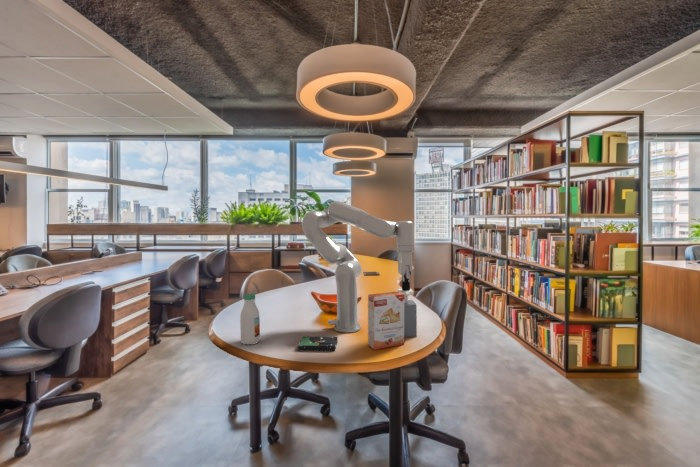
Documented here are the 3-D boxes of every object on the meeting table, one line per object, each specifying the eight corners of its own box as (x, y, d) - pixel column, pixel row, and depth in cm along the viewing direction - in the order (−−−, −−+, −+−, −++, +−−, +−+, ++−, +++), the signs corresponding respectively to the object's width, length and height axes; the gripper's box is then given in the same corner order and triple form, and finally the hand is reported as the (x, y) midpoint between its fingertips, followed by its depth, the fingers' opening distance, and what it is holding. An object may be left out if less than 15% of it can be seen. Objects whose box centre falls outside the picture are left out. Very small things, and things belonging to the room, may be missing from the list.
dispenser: (398, 336, 136) (398, 304, 136) (395, 330, 144) (395, 300, 144) (416, 336, 136) (416, 304, 136) (412, 330, 144) (412, 300, 144)
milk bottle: (249, 346, 127) (248, 297, 127) (236, 343, 131) (235, 295, 131) (263, 340, 134) (262, 293, 133) (251, 337, 138) (250, 292, 137)
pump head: (401, 322, 134) (401, 293, 134) (397, 316, 143) (397, 288, 143) (415, 322, 134) (415, 293, 134) (410, 315, 143) (410, 288, 143)
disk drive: (337, 343, 132) (302, 342, 133) (337, 336, 132) (302, 335, 132) (335, 353, 121) (297, 352, 122) (335, 345, 121) (297, 345, 122)
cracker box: (374, 350, 122) (374, 297, 121) (367, 345, 127) (367, 294, 127) (405, 344, 127) (404, 293, 127) (397, 339, 133) (396, 290, 132)
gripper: (394, 247, 147) (394, 287, 147) (399, 250, 132) (400, 294, 132) (410, 247, 147) (410, 286, 147) (417, 250, 132) (418, 293, 132)
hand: (405, 290), depth 140 cm, fingers closed
